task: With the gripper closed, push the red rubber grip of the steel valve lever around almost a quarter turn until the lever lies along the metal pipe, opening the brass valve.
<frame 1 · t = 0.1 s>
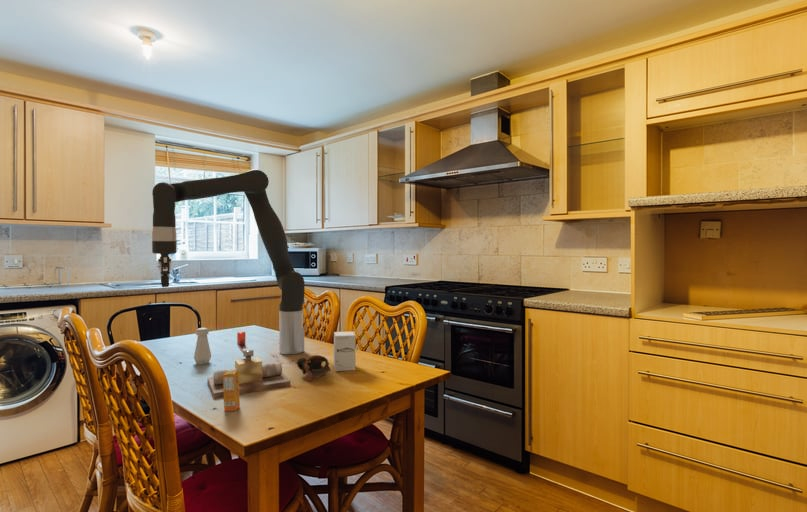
hand: (164, 285, 150), 29 cm above the table, tool pointing down, fingers open, 8 cm apart
salt shaker: (202, 363, 157), on the table
supplement box: (231, 410, 114), on the table
supplement box 2: (344, 368, 152), on the table
pottery mug: (313, 377, 142), on the table
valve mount: (248, 384, 134), on the table
valve lever: (244, 343, 139), point 12 cm above the table, hinge at 0.0°
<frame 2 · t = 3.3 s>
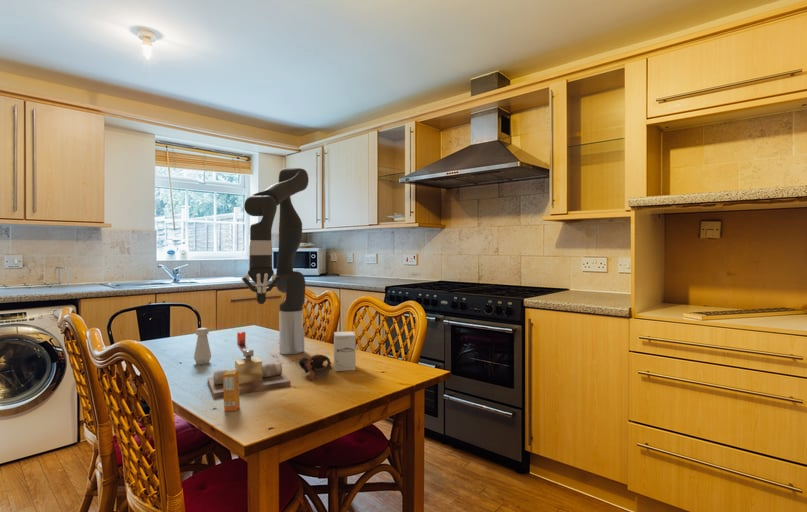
hand: (261, 303, 147), 24 cm above the table, tool pointing down, fingers closed
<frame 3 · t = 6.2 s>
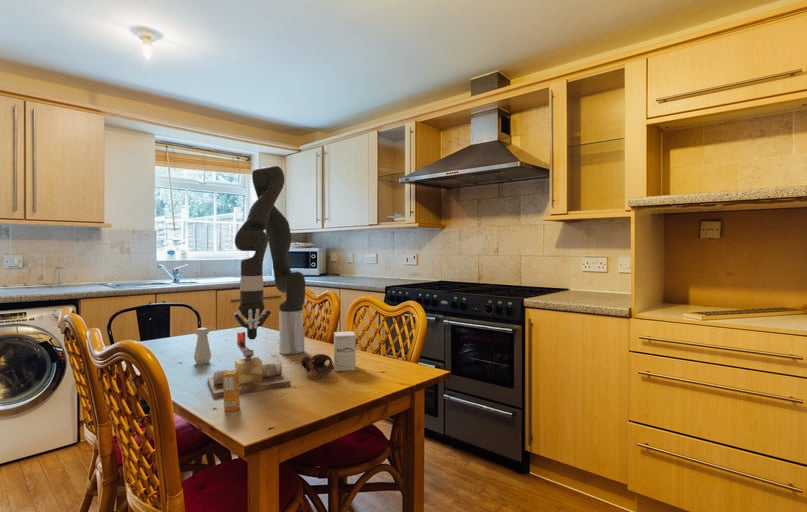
hand: (251, 339, 146), 12 cm above the table, tool pointing down, fingers closed
valve lever: (244, 343, 139), point 12 cm above the table, hinge at 0.1°, touching gripper
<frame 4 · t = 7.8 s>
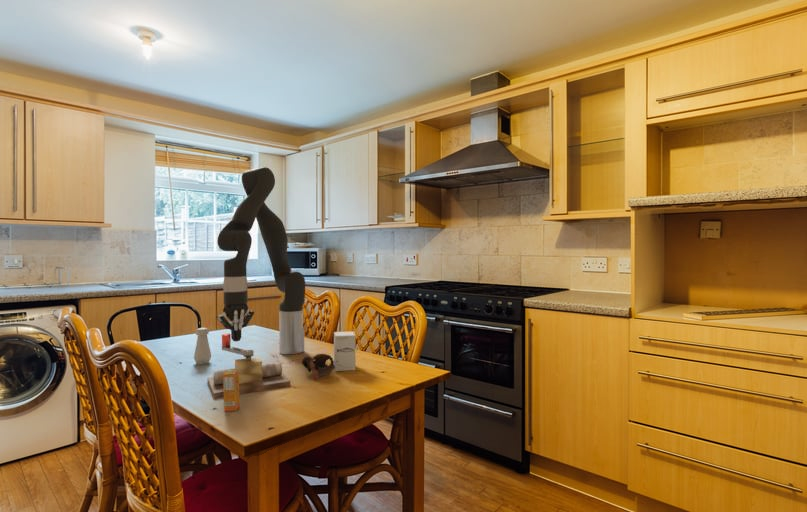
hand: (236, 340, 143), 12 cm above the table, tool pointing down, fingers closed
valve lever: (237, 345, 137), point 12 cm above the table, hinge at 24.3°, touching gripper
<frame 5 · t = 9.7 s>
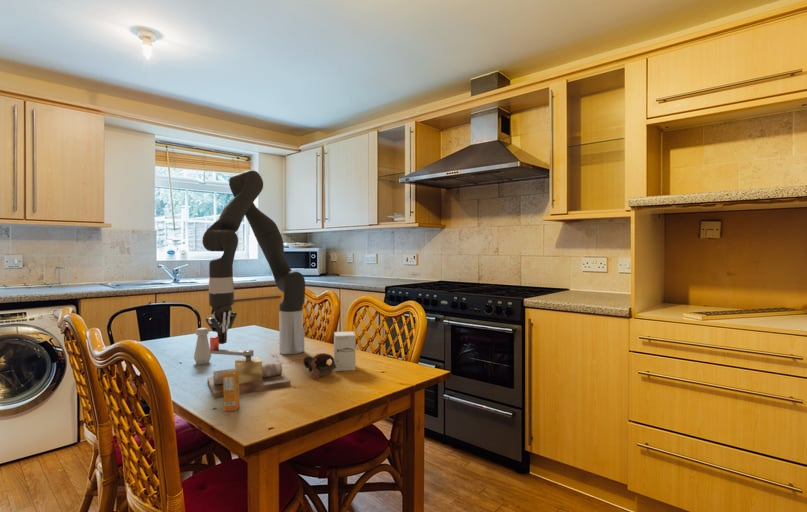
hand: (222, 343, 139), 12 cm above the table, tool pointing down, fingers closed
valve lever: (231, 346, 135), point 12 cm above the table, hinge at 47.7°, touching gripper
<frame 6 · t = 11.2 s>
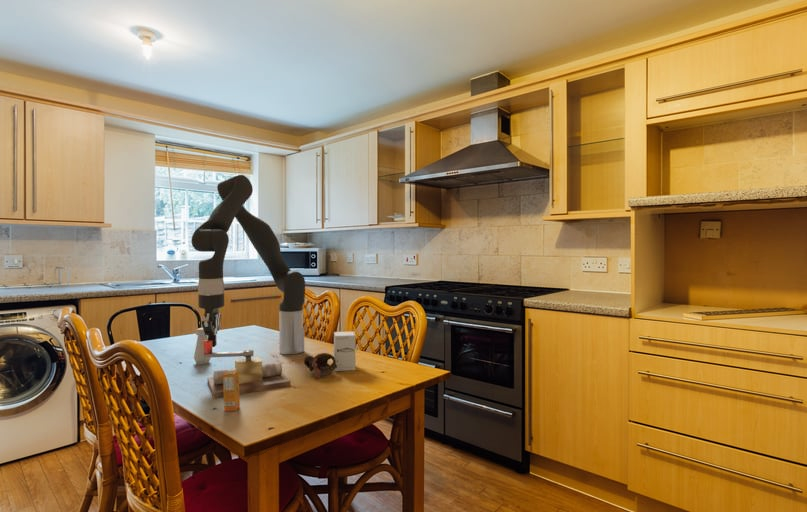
hand: (212, 346, 135), 12 cm above the table, tool pointing down, fingers closed
valve lever: (228, 348, 133), point 12 cm above the table, hinge at 69.3°, touching gripper
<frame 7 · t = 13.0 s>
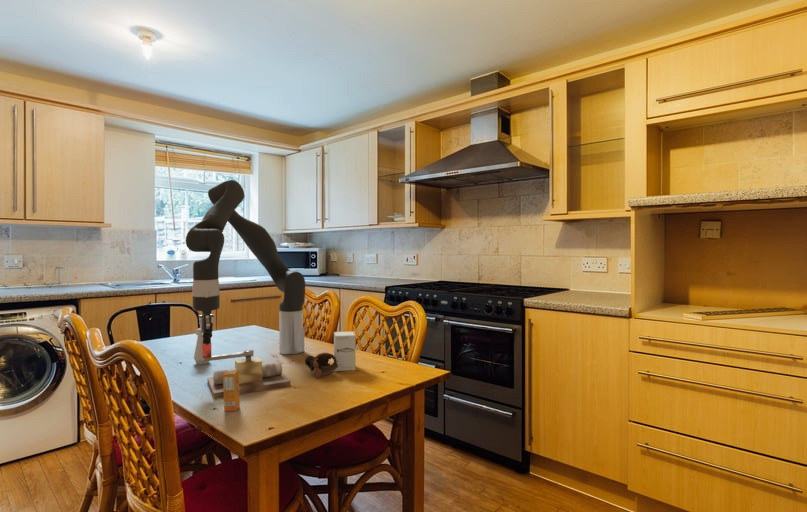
hand: (206, 350, 131), 12 cm above the table, tool pointing down, fingers closed
valve lever: (228, 349, 131), point 12 cm above the table, hinge at 90.3°, touching gripper
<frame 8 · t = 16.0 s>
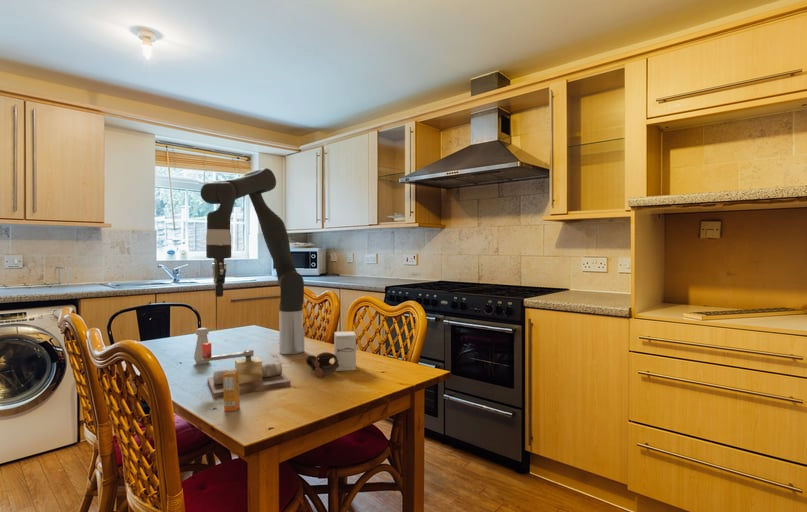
hand: (219, 296, 139), 27 cm above the table, tool pointing down, fingers closed
valve lever: (228, 349, 131), point 12 cm above the table, hinge at 90.3°
at the end: valve lever at +90° (first picture: +0°); the gripper is holding nothing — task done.
